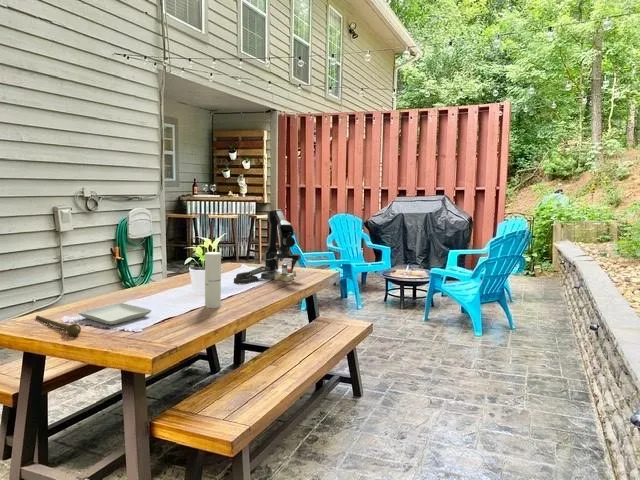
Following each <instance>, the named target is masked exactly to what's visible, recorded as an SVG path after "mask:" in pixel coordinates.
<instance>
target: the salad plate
mask: <svg viewBox="0 0 640 480" xmlns="http://www.w3.org/2000/svg"><path fill="white" fill-rule="evenodd" d="M151 313H152V309H150V308H145V307H141V306H137V305H132V304H128V303H123V302H117V303H114V304H113V303H112V304H107V305H103V306H98V307H97V306H96V307H93V308H89V309H85V310H81V311H78V312H77V314H78V315H80V316H81V317H83V318H85V319H87V320H91V321H93V320H94V321H93V322H97V323H100V322H101V324H104V323H105V325H108V324H109V326H111V325H112V326H113V324H114V325H118V323H119V324H122V323H125V321H126V322H129V320H130V321H133V320H137V319H140V318H143V317H146V316H147V315H149V314H151ZM136 318H137V319H136ZM132 319H133V320H132ZM121 322H122V323H121Z"/></svg>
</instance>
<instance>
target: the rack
mask: <svg viewBox="0 0 640 480" xmlns="http://www.w3.org/2000/svg"><path fill="white" fill-rule="evenodd" d="M294 278H295V276H294V274H291V273H287V275H282V272H280V273H278V274H276V275H275V279H274V281H281V282H291V281H292V280H294Z"/></svg>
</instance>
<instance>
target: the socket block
mask: <svg viewBox="0 0 640 480" xmlns="http://www.w3.org/2000/svg"><path fill="white" fill-rule="evenodd" d="M278 273H281V272H280V271H269V270H268V271H265V272H262V273H260V278H261V279H271V280H275V275H276V274H278ZM287 273H289V272H287ZM291 274H294V277H295V276H297V271H294V270H293V271H292V273H291Z"/></svg>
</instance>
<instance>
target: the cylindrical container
mask: <svg viewBox="0 0 640 480" xmlns="http://www.w3.org/2000/svg"><path fill="white" fill-rule="evenodd" d="M204 275H205V276H204V307H205V308H208V309H217V308H220V307H222V306H221V302H222V301H221V300H222V299H221V298H222V297H221V295H222V293H221V292H222V282H221V281H222V279H221V278H222V253H221V252H219V251H218V252H217V251H207V252H205V253H204Z"/></svg>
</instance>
